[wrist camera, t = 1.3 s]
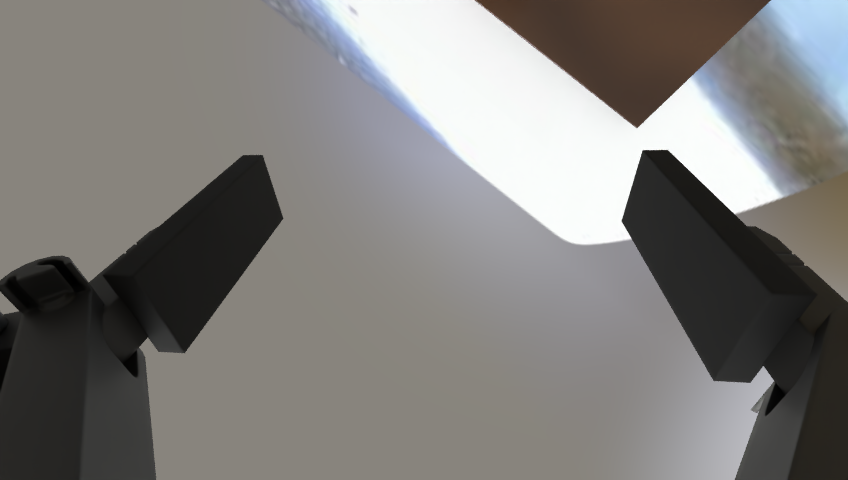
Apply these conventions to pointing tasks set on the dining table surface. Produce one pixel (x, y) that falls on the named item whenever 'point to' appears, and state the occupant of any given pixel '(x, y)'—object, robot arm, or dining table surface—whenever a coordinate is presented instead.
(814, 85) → the dining table surface
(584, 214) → the dining table surface
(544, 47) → the butter board
